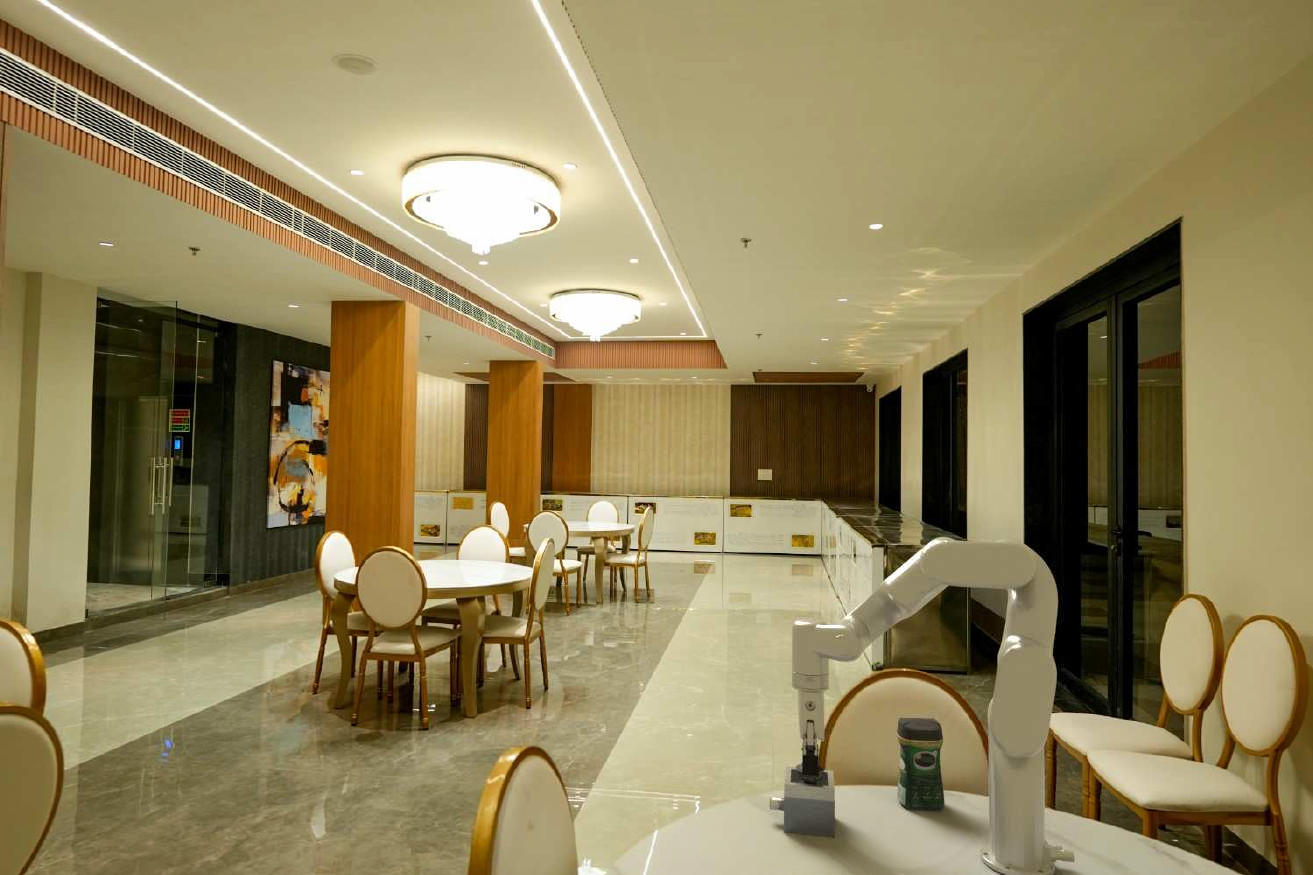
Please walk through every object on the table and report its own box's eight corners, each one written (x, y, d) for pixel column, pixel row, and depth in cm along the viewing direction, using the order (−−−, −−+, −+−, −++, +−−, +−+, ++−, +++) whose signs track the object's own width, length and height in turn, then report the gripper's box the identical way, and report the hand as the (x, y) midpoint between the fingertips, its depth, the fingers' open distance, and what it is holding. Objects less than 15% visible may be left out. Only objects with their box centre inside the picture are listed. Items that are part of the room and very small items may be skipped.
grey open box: (833, 812, 165) (833, 767, 165) (834, 837, 153) (835, 788, 154) (771, 806, 167) (771, 761, 168) (768, 830, 156) (769, 782, 156)
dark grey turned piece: (790, 781, 161) (790, 723, 162) (815, 779, 163) (815, 721, 164) (804, 792, 156) (804, 731, 156) (829, 789, 157) (829, 729, 158)
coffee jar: (936, 797, 174) (936, 713, 175) (948, 812, 166) (948, 724, 167) (893, 796, 174) (893, 712, 175) (903, 811, 166) (902, 723, 167)
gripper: (829, 692, 152) (830, 786, 150) (827, 671, 168) (827, 756, 167) (791, 689, 153) (790, 783, 152) (792, 669, 170) (792, 753, 169)
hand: (810, 768), depth 160 cm, fingers closed on dark grey turned piece, 5 cm apart
